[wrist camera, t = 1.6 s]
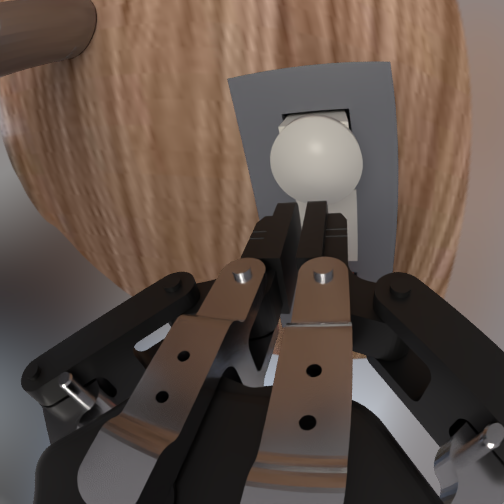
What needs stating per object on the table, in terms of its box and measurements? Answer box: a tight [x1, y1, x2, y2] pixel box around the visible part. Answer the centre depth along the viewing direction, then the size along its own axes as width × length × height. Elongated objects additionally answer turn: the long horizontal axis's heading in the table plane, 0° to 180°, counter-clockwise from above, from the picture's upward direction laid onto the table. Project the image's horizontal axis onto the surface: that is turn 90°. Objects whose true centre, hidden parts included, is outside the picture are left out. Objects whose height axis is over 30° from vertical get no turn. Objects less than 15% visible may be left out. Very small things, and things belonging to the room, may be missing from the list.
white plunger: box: [270, 109, 363, 204], centre depth 19 cm, size 6×6×8 cm
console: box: [227, 62, 398, 327], centre depth 27 cm, size 27×12×7 cm, turn 12°
